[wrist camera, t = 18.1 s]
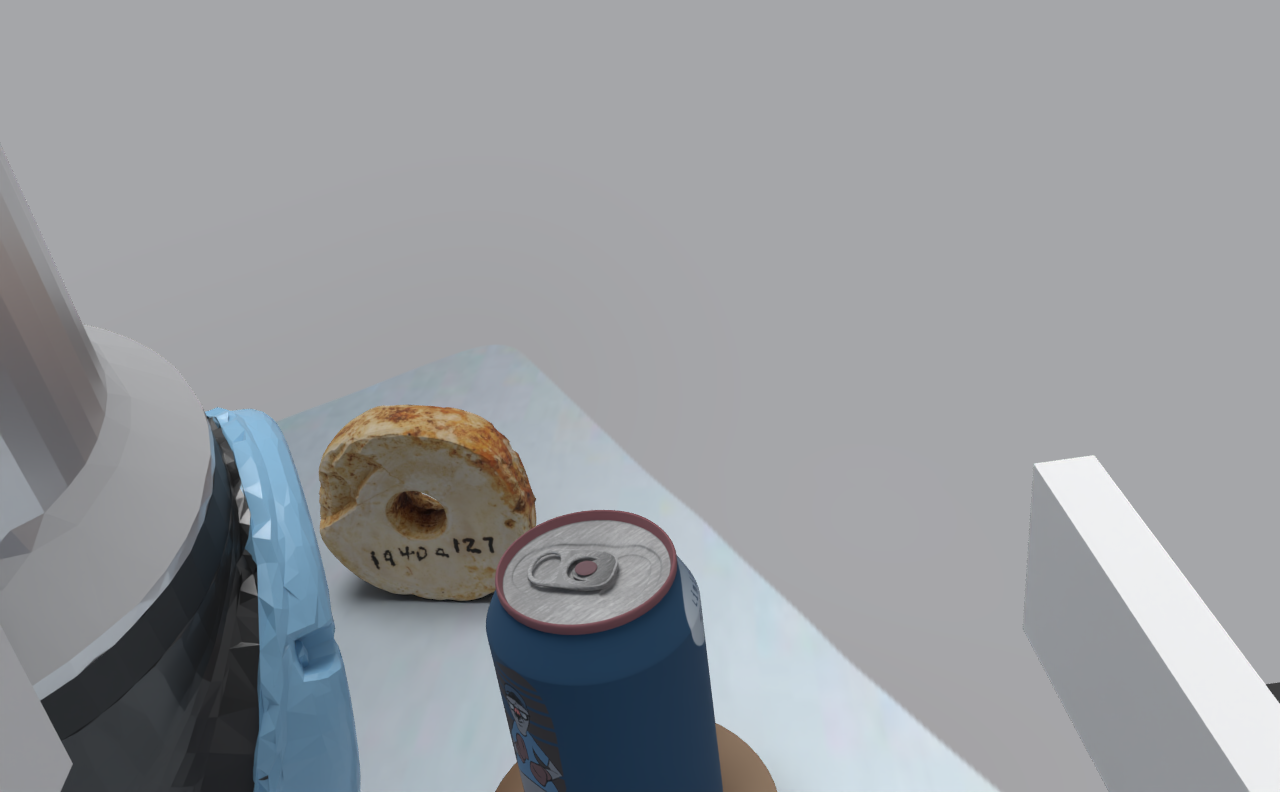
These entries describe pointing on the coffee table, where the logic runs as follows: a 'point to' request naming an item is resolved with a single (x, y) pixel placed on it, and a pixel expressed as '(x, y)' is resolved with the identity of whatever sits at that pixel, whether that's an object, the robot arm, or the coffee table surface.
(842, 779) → the coffee table surface
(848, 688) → the coffee table surface
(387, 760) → the coffee table surface
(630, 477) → the coffee table surface
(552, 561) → the soda can
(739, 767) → the coaster
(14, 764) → the robot arm
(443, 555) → the stone disc
